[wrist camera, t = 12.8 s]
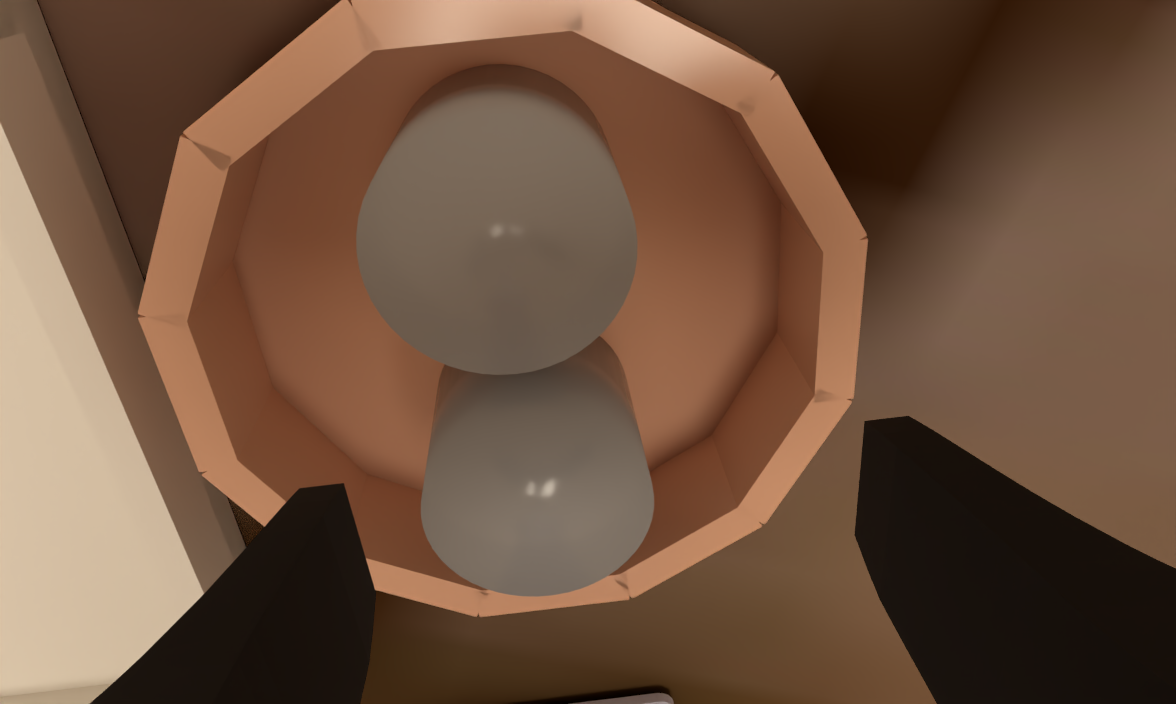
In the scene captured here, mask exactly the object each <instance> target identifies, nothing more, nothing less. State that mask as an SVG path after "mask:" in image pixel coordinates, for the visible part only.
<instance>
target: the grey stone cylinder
mask: <svg viewBox="0 0 1176 704" xmlns="http://www.w3.org/2000/svg"><path fill="white" fill-rule="evenodd" d="M653 511H654V492H653V486H652V481H651V477H650V473H649V469H648V465H647V461H646V457H645V452H644V448H643V444H642V440H641V436H640V432H639V428H638V424H637V420H636V416H635V411H634V407H633V403H632V399H631V395H630V391H629V387H628V383H627V379H626V375H625V372H624V369H623V366H622V364H621V362H620V360H619V358H618V356H617V355H616V353H615V352H614V351H613V349H612V348H611V346H610V345H609V344H608V343H607V342H606V341H605V340H604V339H603V338H602V337H600V336H598V337H597V338H596V339H595V340H594V341H593V342H592V343H591V344H589V345H588V346H587V347H585V348H584V349H583V350H581V351H580V352H578V353H577V354H575V355H573V356H571V357H569V358H568V359H566V360H564V361H562V362H559V363H557V364H554V365H552V366H550V367H546V368H543V369H539V370H536V371H532V372H526V373H520V374H508V375H492V374H480V373H474V372H469V371H464V370H461V369H457V368H454V367H451V366H448V365H444V367H443V369H442V372H441V375H440V378H439V382H438V389H437V395H436V402H435V409H434V416H433V423H432V429H431V436H430V443H429V450H428V457H427V464H426V471H425V477H424V484H423V491H422V498H421V519H422V525H423V529H424V532H425V534H426V537H427V539H428V541H429V543H430V545H431V547H432V549H433V550H434V551H435V553H436V554H437V555H438V557H439V558H440V559H441V560H442V561H443V562H444V563H445V564H446V565H447V566H448V567H449V568H450V569H451V570H453V571H454V572H455V573H457V574H458V575H459V576H461V577H462V578H464V579H466V580H468V581H469V582H471V583H473V584H476V585H478V586H480V587H482V588H485V589H488V590H491V591H495V592H498V593H503V594H508V595H515V596H527V597H540V596H551V595H557V594H563V593H568V592H571V591H575V590H578V589H581V588H584V587H586V586H589V585H591V584H594V583H596V582H598V581H600V580H601V579H603V578H605V577H607V576H608V575H610V574H611V573H613V572H614V571H616V570H617V569H618V568H620V567H621V566H622V565H623V564H624V563H625V562H627V561H628V559H629V558H630V557H631V556H632V555H633V554H634V553H635V552H636V550H637V549H638V548H639V546H640V545H641V543H642V542H643V540H644V538H645V536H646V534H647V532H648V530H649V527H650V524H651V521H652V517H653Z"/></svg>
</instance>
